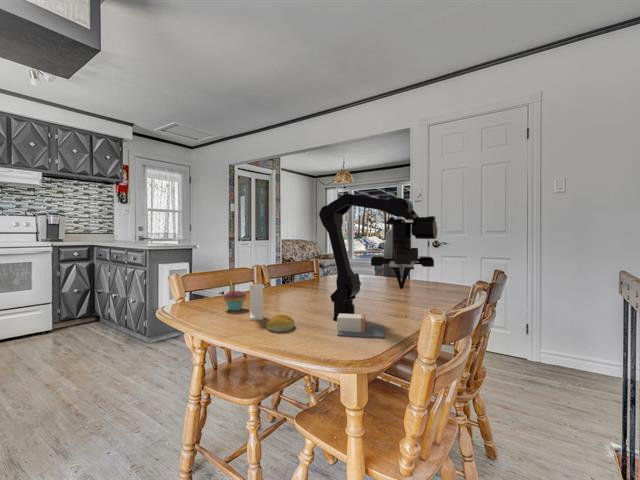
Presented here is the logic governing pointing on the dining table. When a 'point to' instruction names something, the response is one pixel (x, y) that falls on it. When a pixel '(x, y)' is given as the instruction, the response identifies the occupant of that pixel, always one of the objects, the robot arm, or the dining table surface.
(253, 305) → the light gray rectangular block
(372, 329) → the rubber mat
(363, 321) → the tall block
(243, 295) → the cupcake
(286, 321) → the bread roll
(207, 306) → the dining table surface
